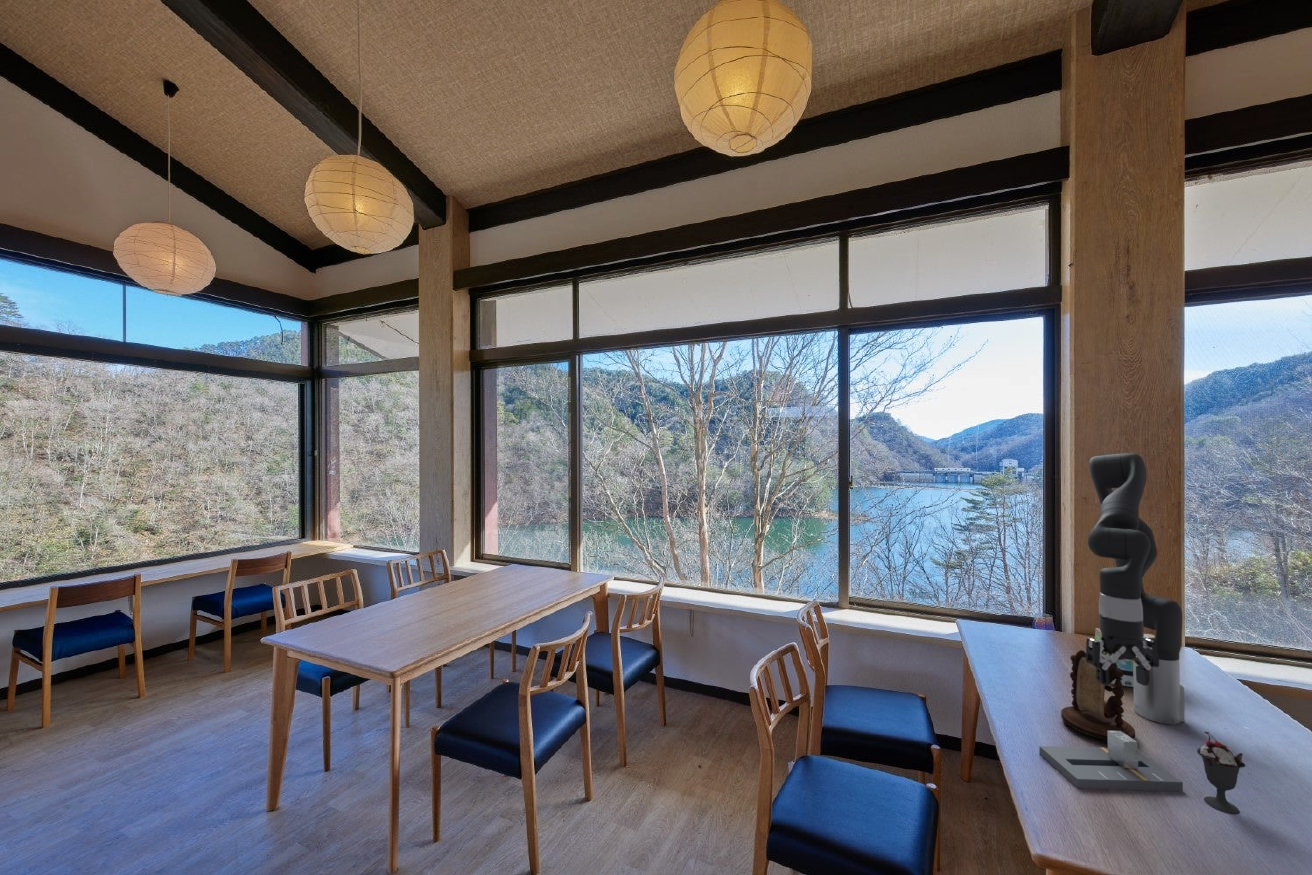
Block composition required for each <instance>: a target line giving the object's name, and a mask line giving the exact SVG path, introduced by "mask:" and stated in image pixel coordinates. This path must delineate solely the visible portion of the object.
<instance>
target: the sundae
mask: <svg viewBox="0 0 1312 875" xmlns="http://www.w3.org/2000/svg"><path fill="white" fill-rule="evenodd" d="M1204 734H1206V735H1207V736H1208V740H1207V741H1205V743H1204V745H1202V746H1201V747H1198V748H1197V750H1196V753H1197V754H1198V755H1199V757H1201V758H1202V761H1203V767H1204V772H1205V775H1206V780H1208V781H1209V783H1210V784H1211V785H1212V786H1214V787H1215V789H1216V794H1215V796H1212V795H1211V796H1205V797H1203V800H1204V802H1205V803H1206V804H1207V805H1209V806H1210V807H1212V808H1213V809H1215V810H1218V811H1220V812H1223V813H1226V814H1229V815H1230V814H1231V815H1236V814H1239V813H1240V810H1239V808H1238V807H1237V806H1236V805H1234V804H1233V803H1231V802H1229V801H1228V800H1227V798H1226V797H1227V796H1226V792H1227V791H1232V790H1233V789H1235V788H1236V785H1237V782H1238V775H1239V772H1240V769H1241V768H1245V767H1246V763H1244V762H1243V761H1242V760H1243V753H1242V752H1240V753H1238V754H1236V755H1235V754H1234V752H1233V751H1232V750H1231V748H1229V747H1227V746H1226V745H1225V744H1223V743H1222V742H1220V741H1218V740H1217V739H1216V738H1214V736H1211V734H1210V731H1204ZM1211 738H1212V739H1213V740H1214V741H1215V742H1212V741H1211Z"/></svg>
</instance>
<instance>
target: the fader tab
mask: <svg viewBox="0 0 1312 875" xmlns="http://www.w3.org/2000/svg"><path fill="white" fill-rule="evenodd" d="M1107 732H1108V744H1107V748H1108V756H1109V757H1110V758H1111V759H1113V760H1114V761H1115V762H1117V763H1118V766H1122V767H1123V768H1135V769H1138V752H1139V751H1138V750H1139V748H1138V746H1139V745H1138V743H1139V742H1138V741H1136V740H1135V739H1132V738H1131V737H1129V736H1128V735H1126V734H1125V733H1123V732H1122V731H1107Z"/></svg>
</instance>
